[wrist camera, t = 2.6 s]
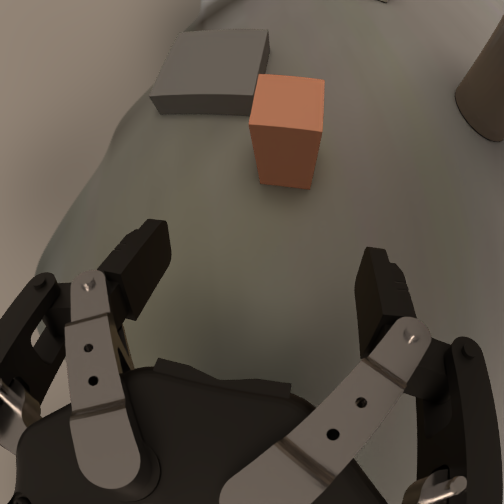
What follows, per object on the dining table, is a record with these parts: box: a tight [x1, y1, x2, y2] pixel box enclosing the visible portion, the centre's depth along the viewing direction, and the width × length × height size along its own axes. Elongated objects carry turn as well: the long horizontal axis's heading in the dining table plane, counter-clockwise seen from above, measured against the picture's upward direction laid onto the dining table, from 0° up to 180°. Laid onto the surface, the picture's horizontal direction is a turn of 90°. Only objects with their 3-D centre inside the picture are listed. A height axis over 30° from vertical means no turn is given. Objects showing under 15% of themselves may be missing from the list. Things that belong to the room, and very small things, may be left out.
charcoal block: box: [149, 29, 270, 116], centre depth 28 cm, size 11×11×4 cm
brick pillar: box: [249, 74, 324, 190], centre depth 22 cm, size 5×5×10 cm
